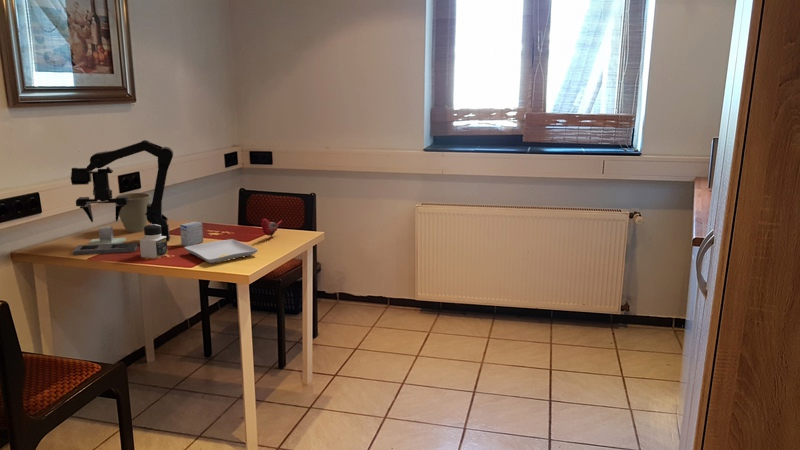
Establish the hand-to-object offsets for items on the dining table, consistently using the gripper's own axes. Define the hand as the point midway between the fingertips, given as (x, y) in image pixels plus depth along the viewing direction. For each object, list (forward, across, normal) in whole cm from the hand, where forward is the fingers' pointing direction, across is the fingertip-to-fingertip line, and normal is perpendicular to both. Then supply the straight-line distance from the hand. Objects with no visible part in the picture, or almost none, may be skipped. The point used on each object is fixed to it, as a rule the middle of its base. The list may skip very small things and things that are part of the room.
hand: (104, 221), depth 242 cm
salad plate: (+10, -46, +28) cm, 55 cm away
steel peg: (+8, 0, 0) cm, 9 cm away
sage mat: (+9, 0, 0) cm, 9 cm away
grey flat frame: (+9, -2, +12) cm, 15 cm away
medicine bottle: (+9, -21, +23) cm, 33 cm away
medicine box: (+9, -34, +8) cm, 36 cm away
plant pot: (+9, -8, -20) cm, 23 cm away
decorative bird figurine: (+9, -67, +5) cm, 68 cm away
